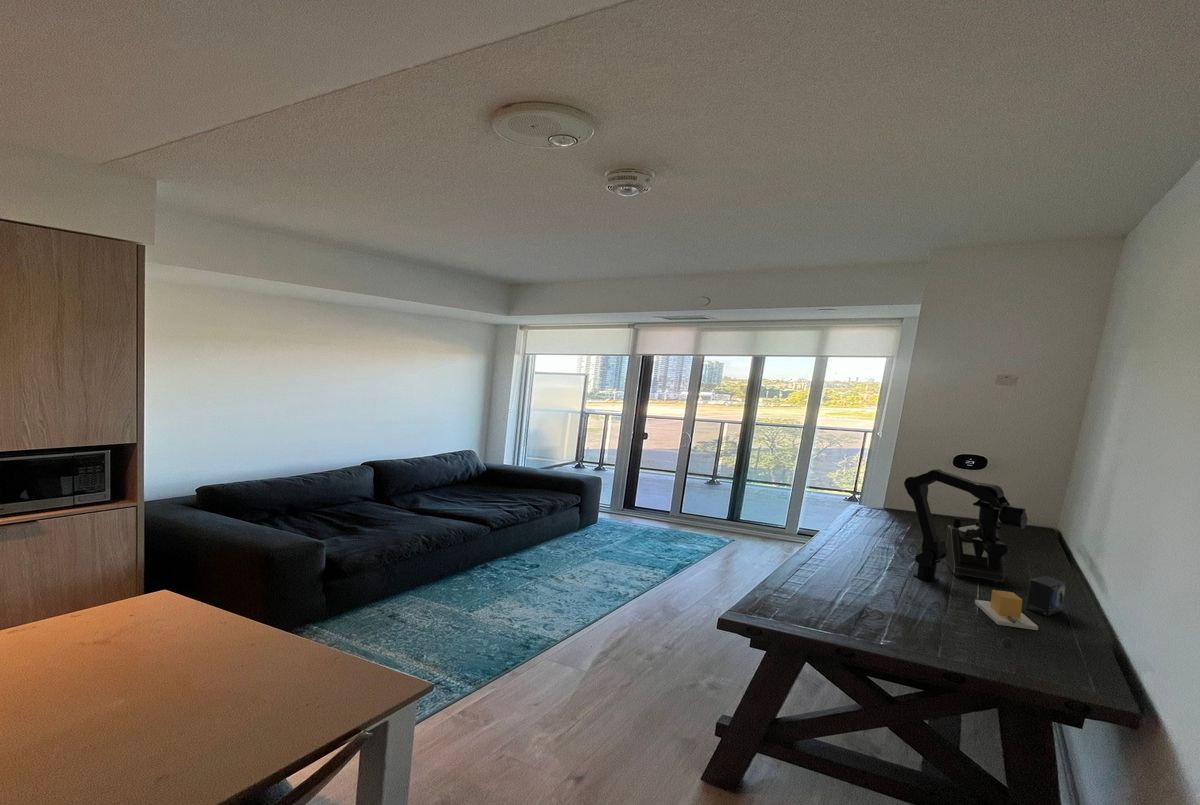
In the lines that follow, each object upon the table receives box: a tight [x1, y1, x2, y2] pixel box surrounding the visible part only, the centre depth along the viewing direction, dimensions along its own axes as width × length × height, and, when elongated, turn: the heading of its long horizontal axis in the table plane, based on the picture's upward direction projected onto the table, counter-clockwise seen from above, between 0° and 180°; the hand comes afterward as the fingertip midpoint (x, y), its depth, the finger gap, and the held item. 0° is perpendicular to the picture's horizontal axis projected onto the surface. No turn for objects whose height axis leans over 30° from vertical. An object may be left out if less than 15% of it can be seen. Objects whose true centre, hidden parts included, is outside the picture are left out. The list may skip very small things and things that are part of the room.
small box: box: [1025, 575, 1067, 617], centre depth 181 cm, size 11×6×10 cm, turn 118°
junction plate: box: [974, 599, 1039, 631], centre depth 175 cm, size 16×11×5 cm, turn 166°
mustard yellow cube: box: [990, 589, 1023, 618], centre depth 175 cm, size 6×6×6 cm
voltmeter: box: [944, 517, 1005, 583], centre depth 212 cm, size 16×16×20 cm
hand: (983, 563), depth 189 cm, fingers open, 9 cm apart
